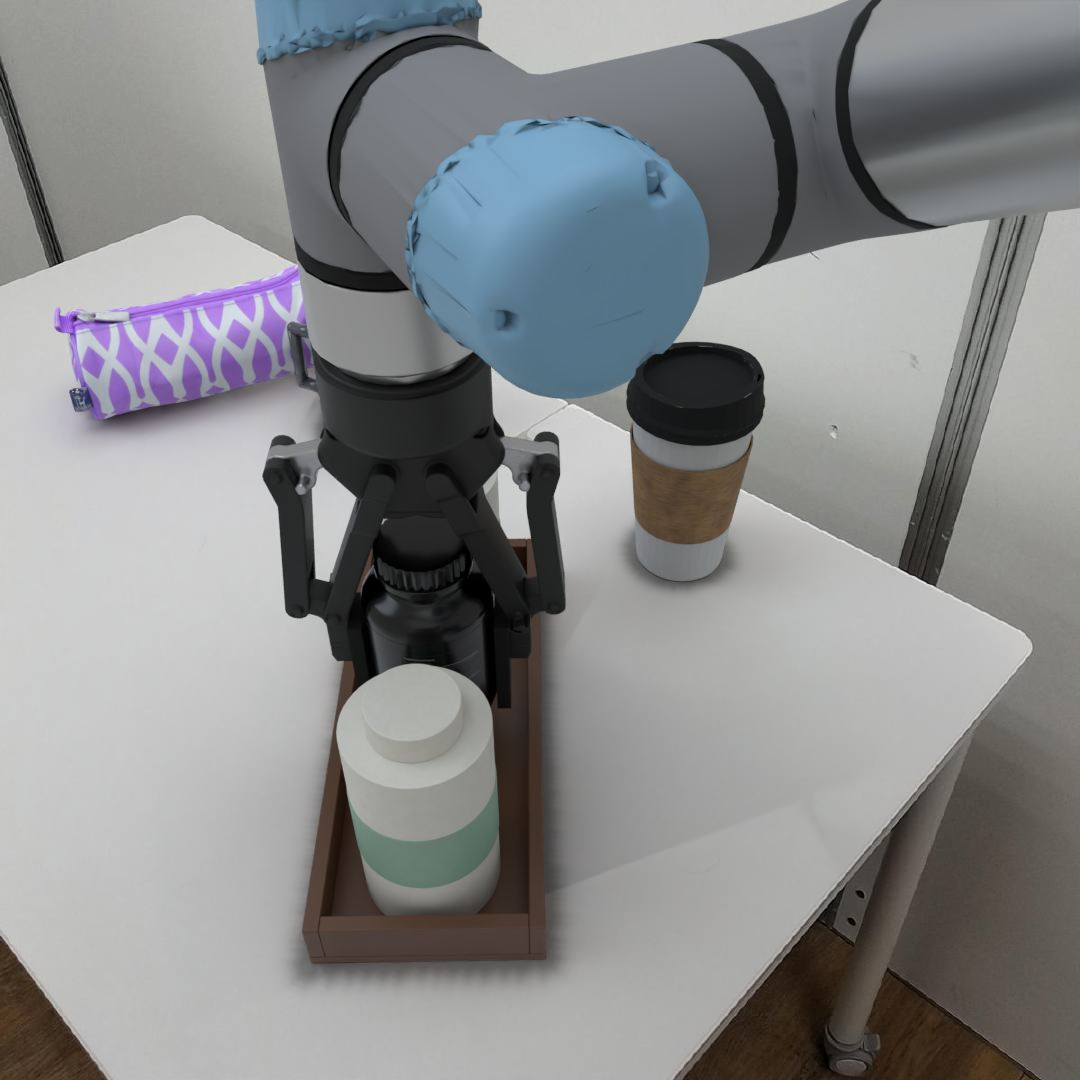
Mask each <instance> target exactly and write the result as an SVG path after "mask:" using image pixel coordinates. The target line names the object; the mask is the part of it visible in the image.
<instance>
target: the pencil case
mask: <svg viewBox="0 0 1080 1080" xmlns="http://www.w3.org/2000/svg"><path fill="white" fill-rule="evenodd" d="M53 320H54V321H53V324H54V326H53V327H54V329H55V331H56V332H58V333H60V334H61V333H62V334H67V340H68V347H69V352H70V360H71V361H70V362H71V366H72V371H73V374H74V377H75V381H76V383H77V386H78V387H74V388H73V387H72V389H69V391H68V392H69V396H70V400H71V403H72V406H73V407H72V408H73V410H74V411H75V413H82V412H83V413H84V412H87V411H90V413H91V416H92V417H94V418H95V420H101V421H103V420H106V419H109V418H112V417H114V416H119V415H122V414H126V413H130V412H134V411H139V410H143V409H147V408H151V407H158V406H166V405H167V406H168V405H172V404H178V403H185V402H190V401H194V400H199V399H202V398H206V397H210V396H214V395H217V394H221V393H225V392H230V391H232V390H236V389H237V390H238V389H240V388H244V387H249V386H252V385H255V384H258V383H262V382H267V381H271V380H274V379H277V378H280V377H283V376H289V375H291V374H295V371H294V365H293V360H292V354H291V349H290V344H289V338H288V333H287V325H288V323H290V322H293V321H294V322H298V323H303V324H307V323H306V316H305V310H304V304H303V297H302V291H301V285H300V278H299V272H298V266H297V263H296V264H293V265H290V266H289V267H287V268H284V269H282V270H280V271H279V272H277V273H276V274H274V275H272V276H268V277H267V276H266V277H262V278H260V279H257V280H251V281H246V282H242V283H238V284H236V285H233V286H231V287H227V288H218V289H212V290H211V289H210V290H204V291H199V292H195V293H190V294H187V295H183V296H180V297H176V298H175V299H172V300H168V301H160V302H159V301H157V302H151V303H146V304H142V305H138V306H136V305H135V306H127V307H120V308H114V309H109V310H108V309H107V310H105V311H97V312H93V311H89V310H84V309H81V308H71V309H70V310H69V311H67V312H66V313H65V315H61V307H59V306H58V307H56V308H55V310H54V317H53ZM302 341H303V347H304V353H305V359H306V364H307V370H309V369H311V368H314V363H313V356H312V350H311V344H310V339H308V338H304V337H302Z"/></svg>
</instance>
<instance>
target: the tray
mask: <svg viewBox="0 0 1080 1080" xmlns="http://www.w3.org/2000/svg"><path fill="white" fill-rule="evenodd" d="M508 540H509V542H510V544H511V546H512V548H513V550H514V552H515V553H516V555H517V557H518V559H519V561H520V563H521V565H522V567H523V569H524V570H525V572H526V574H527V576H528V578H531V577H535V576H537V572H536V566H535V560H534V554H533V548H532V541H531V538H508ZM373 561H374V556H373V550H372V549H371V552H370V554H369V557H368V560H367V563H366V566H365V569H364V572H363V575H362V577H361V580H360V583H359V586H358V589H357V592H361V589H362V585H363V582H364V580H365V577H366V575H367V574H368V572H369V570H370V569H371V568H372V566H373V565H374V564H373ZM541 640H542V639H541V612H539V613H537V614H535V615H534V616H533V617H532V619H531V653H530V655H529V657H528V658H511V708H498V706H497V693H496V697H495V700H494V702H493V704H492V706H491V712H492V719H493V737H494V755H495V765H496V772H497V790H498V808H499V844H500V863H501V870H500V877H499V881H498V884H497V887H496V889H495V891H494V893H493V895H492V896H491V898H490V899H489V901H488V902H487V903H486V905H485V906H484V907H483V908H482V909H481V910H480V911H479V912H477V913H476V914H448V915H385V914H384V913H382V912H381V911H380V909H379V908H378V907H377V906H376V905H375V903H374V901H373V900H372V898H371V895H370V893H369V890H368V886H367V882H366V877H365V872H364V867H363V863H362V858H361V853H360V850H359V847H358V843H357V839H356V834H355V830H354V825H353V820H352V815H351V811H350V806H349V801H348V796H347V787H346V781H345V777H344V772H343V767H342V762H341V757H340V753H339V748H338V743H337V734H336V730H337V723H338V719H339V715H340V713H341V711H342V709H343V707H344V705H345V703H346V702H347V700H348V699H349V698H350V697H351V695H352V694H353V693H354V692H355V691H356V690H357V685H356V679H355V674H354V668H353V662H352V661H343V664H342V669H341V670H342V671H341V677H340V682H339V683H340V684H339V690H338V697H337V702H336V710H335V715H334V722H333V729H332V734H331V739H330V740H331V741H330V746H329V754H328V759H327V760H328V761H327V767H326V773H325V780H324V785H323V786H324V787H323V792H322V799H321V805H320V812H319V817H318V818H319V819H318V824H317V829H316V838H315V845H314V851H313V855H312V856H313V857H312V863H311V870H310V877H309V883H308V889H307V895H306V902H305V907H304V915H303V922H302V927H301V933H302V936H303V940H304V944H305V947H306V950H307V953H308V957H309V959H310V963H311V964H326V963H329V964H330V963H388V962H389V963H390V962H392V963H393V962H395V963H397V962H451V961H453V962H455V961H459V962H461V961H462V962H463V961H515V960H517V961H518V960H522V961H523V960H546V959H547V926H546V925H547V924H546V921H547V918H546V868H545V867H546V866H545V865H546V864H545V861H546V859H545V812H544V809H545V807H544V755H543V753H544V751H543V750H544V749H543V702H542V700H543V699H542V698H543V696H542V695H543V694H542V647H541V646H542V645H541V643H542V642H541Z"/></svg>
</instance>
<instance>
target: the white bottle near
mask: <svg viewBox="0 0 1080 1080" xmlns="http://www.w3.org/2000/svg"><path fill="white" fill-rule="evenodd" d="M336 734H337V743H338V748H339V753H340V757H341V762H342V767H343V772H344V777H345V781H346V787H347V796H348V801H349V806H350V811H351V815H352V820H353V825H354V830H355V834H356V839H357V843H358V847H359V850H360V853H361V858H362V863H363V867H364V872H365V877H366V882H367V886H368V890H369V893H370V895H371V898H372V900H373V901H374V903H375V905H376V906H377V907H378V908H379V909H380V911H381V912H382V913H384V914H385V915H448V914H476V913H477V912H479V911H480V910H481V909H482V908H483V907H484V906H485V905H486V903H487V902H488V901H489V899H490V898H491V896H492V895H493V893H494V891H495V889H496V887H497V884H498V881H499V877H500V870H501V863H500V844H499V808H498V790H497V772H496V765H495V755H494V737H493V719H492V712H491V708H490V705H489V703H488V700H487V699H486V697H485V695H484V694H483V692H482V691H481V690H480V689H479V688H478V687H477V686H476V685H475V684H474V683H473V682H472V681H471V680H469V679H468V678H466V677H465V676H463V675H461V674H459V673H457V672H454V671H452V670H449V669H446V668H442V667H437V666H431V665H426V664H406V665H401V666H397V667H394V668H391V669H389V670H387V671H385V672H384V673H382V674H380V675H377V676H375V677H374V678H372V679H370V680H369V681H367V682H366V683H364V684H363V685H362V686H360V687H359V688H358V689H357V690H356V691H355V692H354V693H353V694H352V695H351V697H350V698H349V699H348V700H347V702H346V703H345V705H344V707H343V709H342V711H341V713H340V715H339V719H338V723H337V730H336Z"/></svg>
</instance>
